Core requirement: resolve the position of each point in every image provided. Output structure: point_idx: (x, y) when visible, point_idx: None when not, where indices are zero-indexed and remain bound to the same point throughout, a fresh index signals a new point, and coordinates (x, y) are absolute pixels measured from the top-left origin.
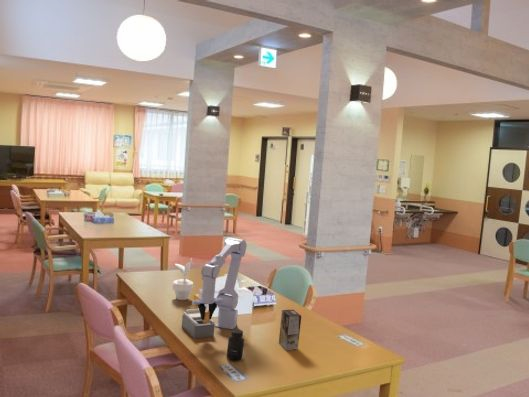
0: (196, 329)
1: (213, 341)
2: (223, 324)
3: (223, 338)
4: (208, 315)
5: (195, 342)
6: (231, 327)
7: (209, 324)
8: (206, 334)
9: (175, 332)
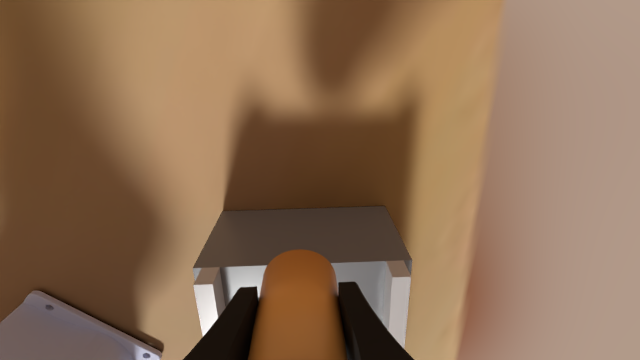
0: (382, 241)
1: (257, 114)
2: (93, 347)
3: (155, 153)
4: (280, 318)
5: (406, 130)
6: (40, 311)
7: (250, 270)
8: (282, 218)
9: (455, 315)
